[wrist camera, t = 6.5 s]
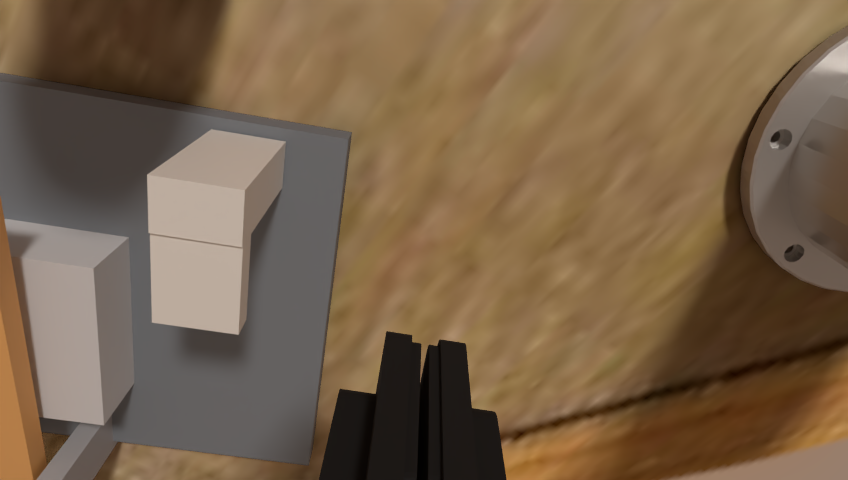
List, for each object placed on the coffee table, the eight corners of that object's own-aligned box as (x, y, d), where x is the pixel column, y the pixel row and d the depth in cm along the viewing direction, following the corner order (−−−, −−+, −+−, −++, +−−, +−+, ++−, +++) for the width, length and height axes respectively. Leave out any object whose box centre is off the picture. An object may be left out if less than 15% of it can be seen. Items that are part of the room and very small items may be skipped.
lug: (285, 141, 24) (244, 190, 18) (276, 260, 26) (237, 336, 20) (211, 129, 23) (147, 175, 18) (208, 250, 26) (150, 324, 20)
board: (351, 132, 25) (329, 180, 19) (311, 455, 32) (286, 562, 26) (-249, 31, 23) (-483, 48, 17) (-144, 397, 30) (-281, 498, 24)
